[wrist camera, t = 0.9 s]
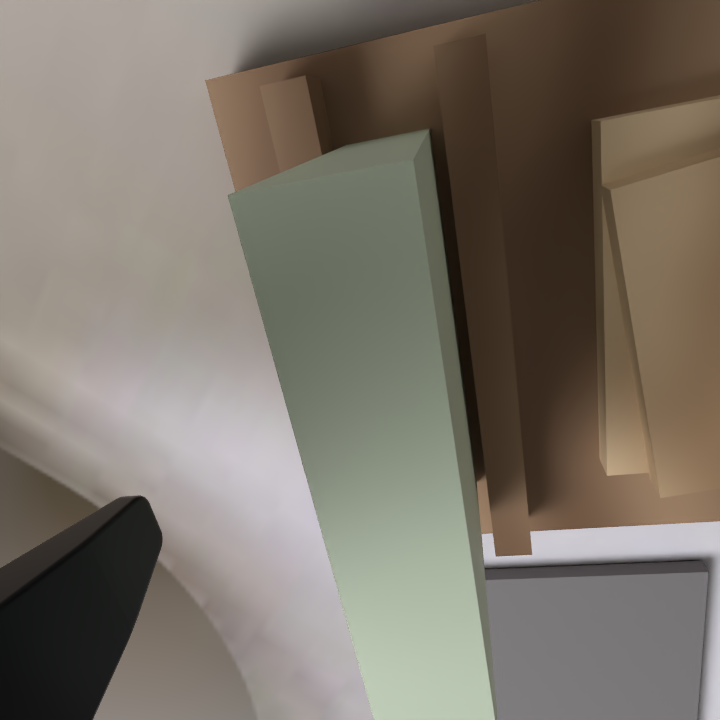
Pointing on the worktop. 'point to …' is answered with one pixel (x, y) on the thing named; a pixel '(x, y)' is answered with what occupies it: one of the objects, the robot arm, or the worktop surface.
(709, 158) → the offcut stack
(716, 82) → the walnut rack
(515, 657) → the rubber mat
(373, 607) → the green board
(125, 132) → the worktop surface
